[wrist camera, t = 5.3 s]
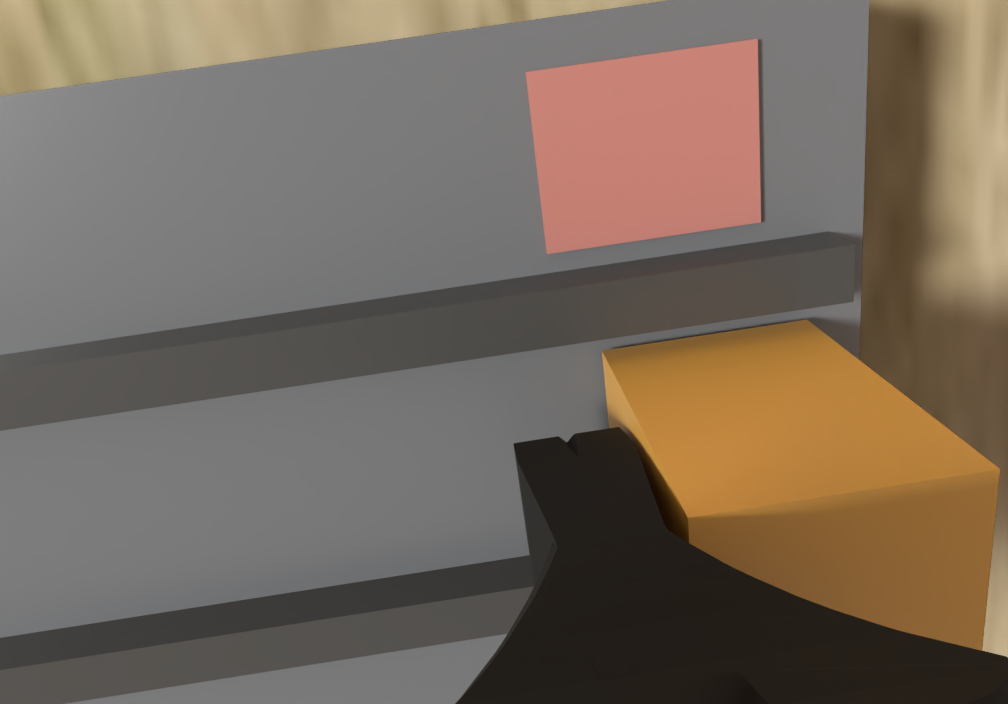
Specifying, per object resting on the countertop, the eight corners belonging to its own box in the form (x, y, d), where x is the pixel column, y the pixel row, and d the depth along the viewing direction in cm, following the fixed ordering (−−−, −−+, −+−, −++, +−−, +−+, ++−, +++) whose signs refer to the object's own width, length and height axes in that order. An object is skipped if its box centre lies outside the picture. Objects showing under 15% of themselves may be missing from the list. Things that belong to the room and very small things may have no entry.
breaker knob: (806, 498, 13) (976, 711, 9) (618, 527, 13) (702, 755, 9) (807, 320, 12) (1000, 469, 8) (601, 350, 12) (688, 517, 8)
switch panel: (784, 593, 18) (871, 733, 14) (-60, 727, 17) (-188, 905, 14) (779, -15, 13) (902, -33, 10) (-353, 146, 13) (-652, 189, 9)
